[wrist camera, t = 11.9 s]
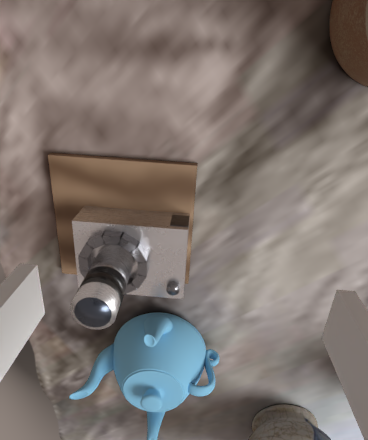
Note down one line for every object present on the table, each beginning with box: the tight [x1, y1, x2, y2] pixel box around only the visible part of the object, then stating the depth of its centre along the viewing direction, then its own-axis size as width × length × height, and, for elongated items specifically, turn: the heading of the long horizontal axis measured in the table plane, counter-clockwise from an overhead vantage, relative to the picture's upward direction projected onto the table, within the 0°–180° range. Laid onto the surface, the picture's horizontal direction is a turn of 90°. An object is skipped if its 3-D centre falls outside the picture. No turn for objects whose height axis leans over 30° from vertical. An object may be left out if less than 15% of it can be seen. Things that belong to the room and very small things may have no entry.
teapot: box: [69, 312, 219, 440], centre depth 53 cm, size 17×19×12 cm
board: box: [48, 153, 197, 284], centre depth 48 cm, size 19×20×1 cm
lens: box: [70, 245, 134, 330], centre depth 40 cm, size 5×5×10 cm
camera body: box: [72, 206, 190, 299], centre depth 46 cm, size 11×15×6 cm
